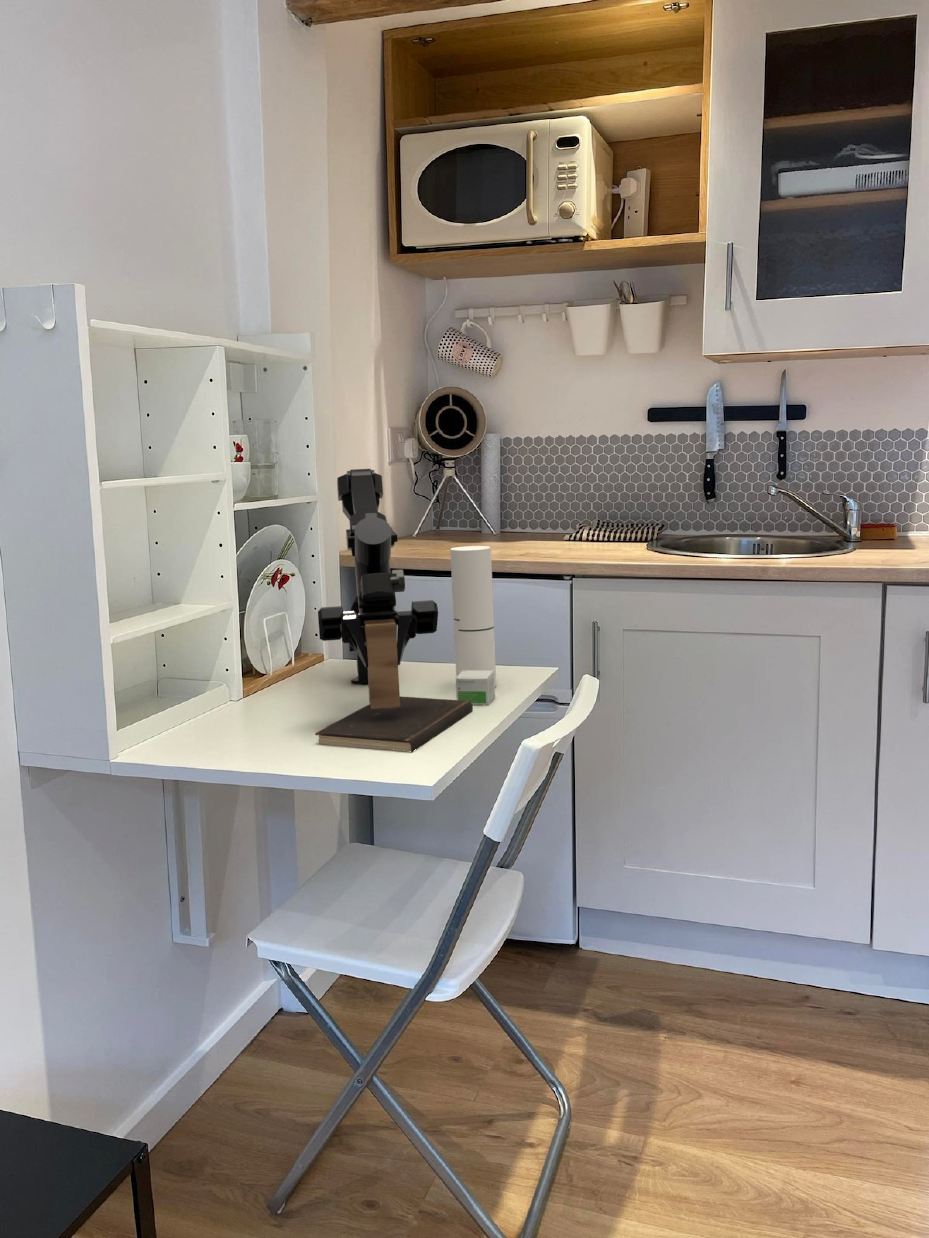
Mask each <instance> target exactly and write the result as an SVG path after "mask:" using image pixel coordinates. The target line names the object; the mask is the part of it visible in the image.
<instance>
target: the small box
mask: <svg viewBox="0 0 929 1238" xmlns="http://www.w3.org/2000/svg"><path fill="white" fill-rule="evenodd" d="M455 688H456V689H455V695H456V700H462V701H470V702H471V703H472V706H476V705H477V706H490V704H491V703H492V701H493V700H494V699H495V697H496V691H495V688H496V687H495V685H494V671H488V670H463V671H462V672H461V673H460V674H459V675H458V676H457V677H456V678H455Z"/></svg>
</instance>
